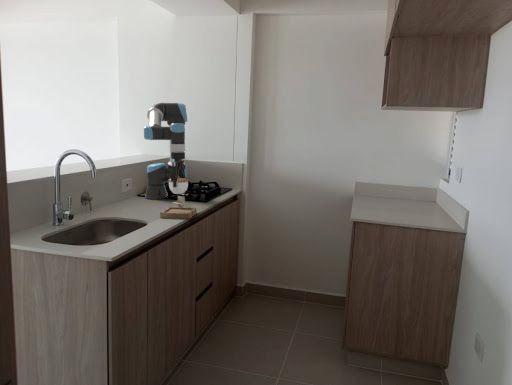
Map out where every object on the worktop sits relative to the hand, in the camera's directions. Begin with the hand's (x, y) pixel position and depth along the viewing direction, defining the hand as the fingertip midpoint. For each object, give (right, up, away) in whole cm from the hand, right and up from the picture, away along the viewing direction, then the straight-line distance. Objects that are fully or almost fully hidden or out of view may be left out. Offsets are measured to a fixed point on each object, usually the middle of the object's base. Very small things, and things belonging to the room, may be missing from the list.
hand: (178, 191), depth 236 cm
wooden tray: (0, -13, +2) cm, 14 cm away
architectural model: (-3, -11, +23) cm, 25 cm away
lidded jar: (0, -1, 0) cm, 1 cm away
